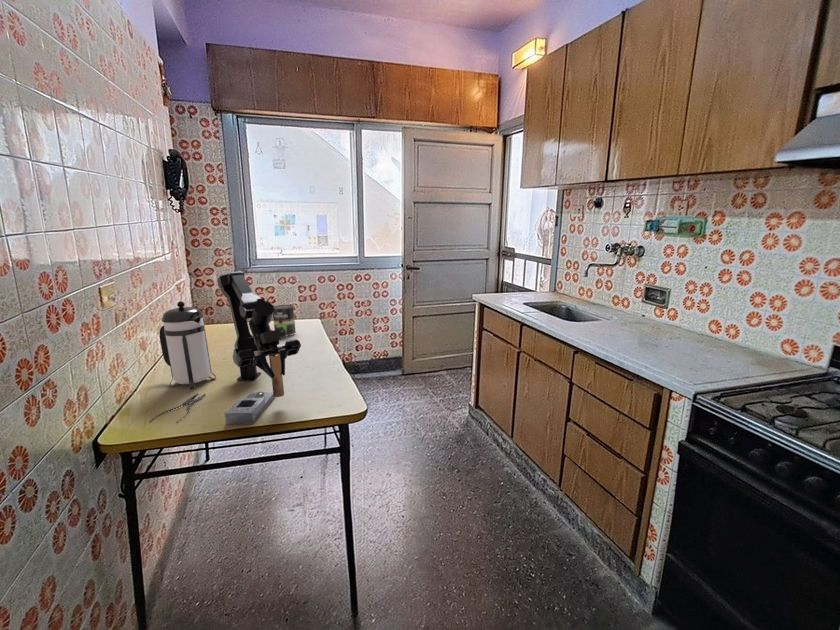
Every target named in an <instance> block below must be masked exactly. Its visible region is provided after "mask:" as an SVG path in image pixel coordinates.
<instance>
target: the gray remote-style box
mask: <svg viewBox="0 0 840 630" xmlns="http://www.w3.org/2000/svg"><path fill="white" fill-rule="evenodd" d="M275 398H276V397H274V395H273V391H269V392H265V391H258V392H250V393H249V394H248V395H247V396H246V397H242V398H241V397H240V398H238V399H237V400H236V401H235V402H234V403H233V404H232V405H231V406H230V407H229V408H228V409H227V410H226V411H225V412H224V419H225V425H226V426H231V425H232V426H233V425H234V426H235V425H238V426H239V425H254V424H255V423H256V421H257V420H258V419H259V418H260V417H261V415H262V414H263V413H264V412H265V411H266V410H267V408H268V407H269V406H270V404H271V403H272V402H273V401H274V400H275ZM272 400H273V401H272ZM267 406H268V407H267Z"/></svg>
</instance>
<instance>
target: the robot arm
mask: <svg viewBox="0 0 840 630" xmlns="http://www.w3.org/2000/svg"><path fill="white" fill-rule="evenodd" d="M216 279H217V287H218V288H219V289H220V292H221V294H222V295H223V296H224V297H225V298H226V299H227V300H228V306H229V309H230V313H231V317H232V321H233V324H234V325H233V326H234V330H235V334H236V340H235V342H234V346H233V347H234V349H233V353H232V360H233V361H232V362H233V363H234V364H235V365H236V366H237V367H238V368H239V372H240V373H239V375H240V376H238V377H237V379H236V380H237V381H255V380H256V379H257V378H258V377H259V376H260V375H261V374H262V373H261V372H260V371H259V372H258V370H257V369H258V368H259V370H262V371H263V372H264V373H265V374H266V375H267V376H268V377H269V378H271V379H272V378H273V374H272V371H271V369H270V364H269V363H268V360H267V356H268V357H269V355H271V354H275V353H278V354H280V358H281V367H282V376H285V374H286V359H287V357H291V356H294V355H297V354H298V353H299V351H300V349H301V346H302V345H301V341H300V340H298V339H291V340H286V341H285V343H284V345H282V346H279V344H280V341H281V340H282V339H283V338H286V337H287V336H286V334H285V330H284V328H283V327H278V328H276V330H274V329H271V327H270V323H271V320H273V319H272V318H273V312H274V306H275V305H273V304H272V303H271V302H269V301H266V300H265V298H263V297H262V298H261V296H259V295H257V294H254V292H253V291H252V289H251V287H250V285H249V283H248V282H247V280H246V278H245V274H244V271H240V270H239V271H229V272H227V274H221V275H220V276H219V277H217V278H216ZM248 319H250V320H249V321H248ZM285 336H286V337H285Z"/></svg>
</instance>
